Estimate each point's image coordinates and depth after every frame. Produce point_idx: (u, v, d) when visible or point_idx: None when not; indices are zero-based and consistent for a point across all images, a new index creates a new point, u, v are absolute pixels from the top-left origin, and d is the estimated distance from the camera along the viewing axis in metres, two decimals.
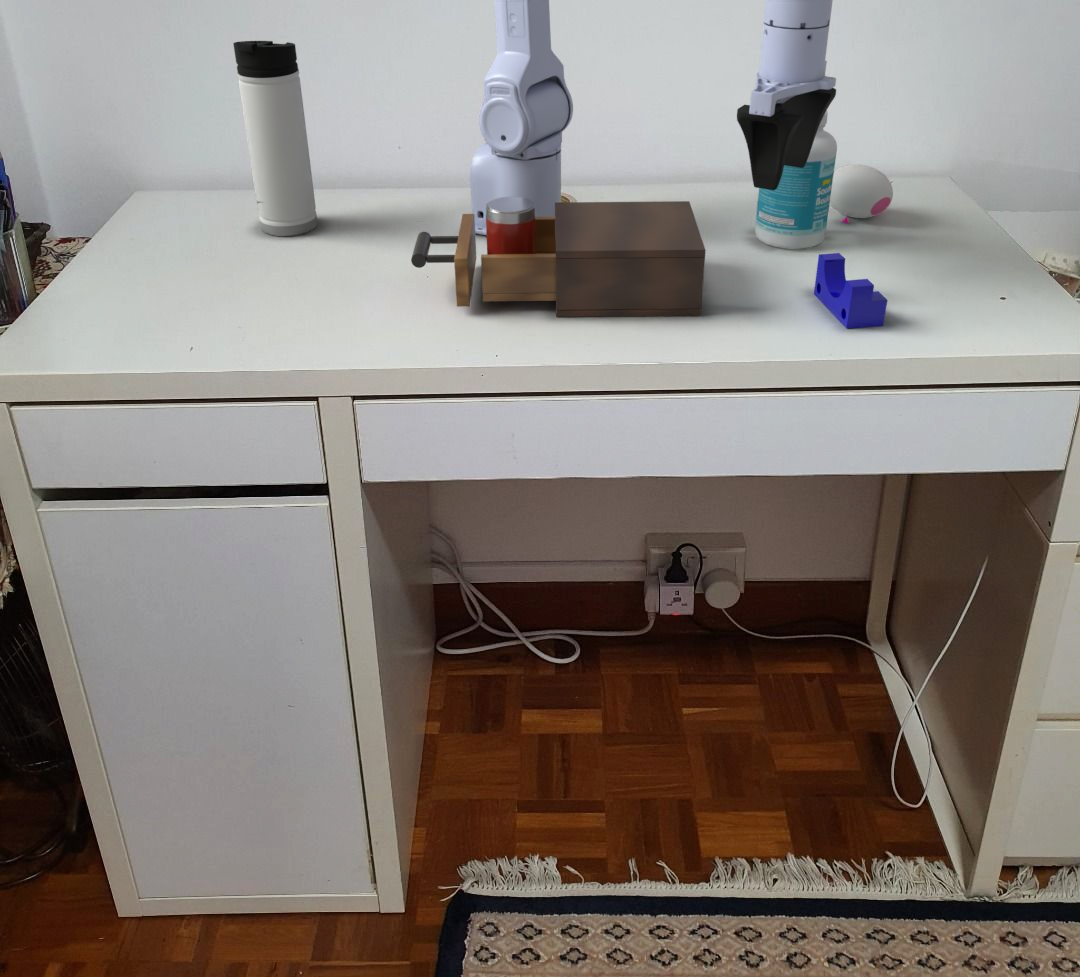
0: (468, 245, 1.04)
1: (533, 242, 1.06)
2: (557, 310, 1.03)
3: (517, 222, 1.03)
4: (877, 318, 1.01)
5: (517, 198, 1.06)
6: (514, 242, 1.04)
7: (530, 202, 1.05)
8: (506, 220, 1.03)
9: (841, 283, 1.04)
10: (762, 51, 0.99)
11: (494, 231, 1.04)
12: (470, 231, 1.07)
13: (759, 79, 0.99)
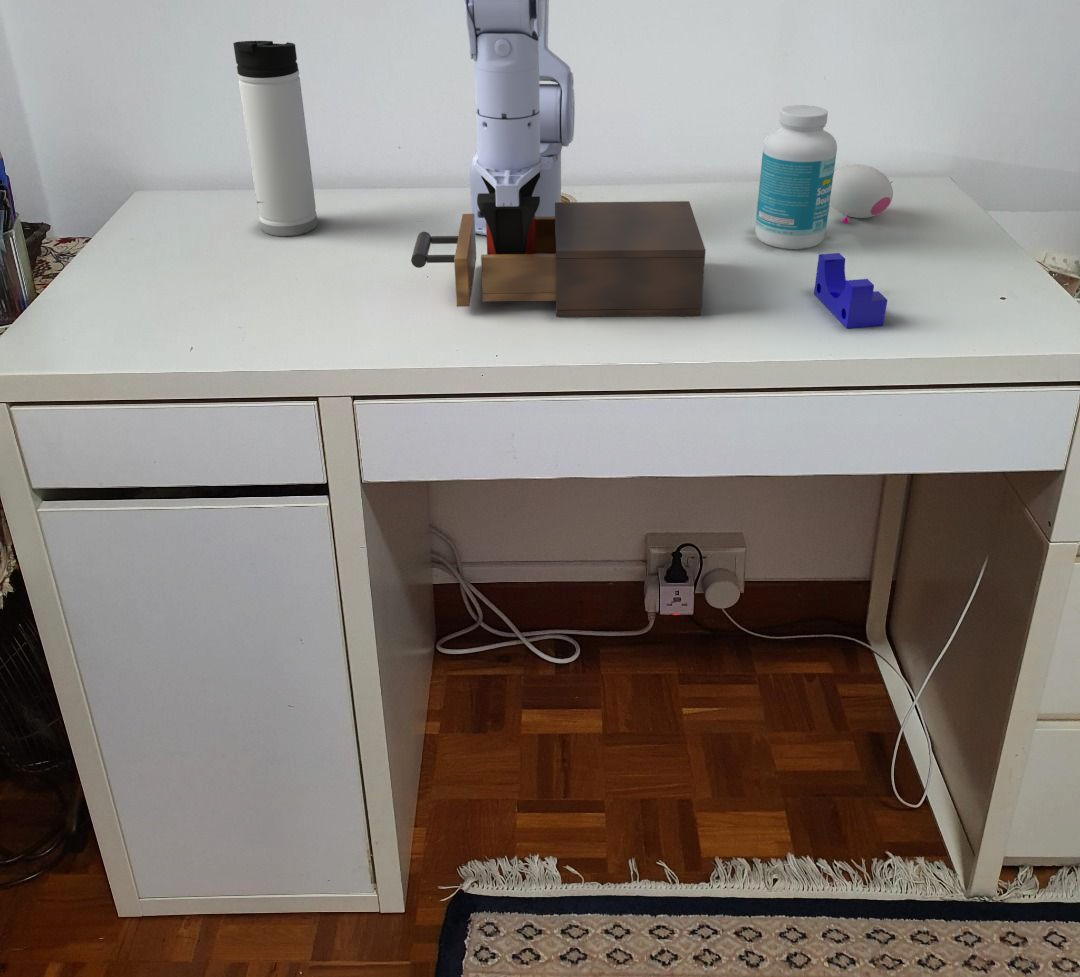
0: (468, 245, 1.04)
1: (533, 242, 1.06)
2: (557, 310, 1.03)
3: None
4: (877, 318, 1.01)
5: None
6: None
7: None
8: None
9: (841, 283, 1.04)
10: (482, 142, 1.00)
11: None
12: (470, 231, 1.07)
13: (486, 169, 1.00)
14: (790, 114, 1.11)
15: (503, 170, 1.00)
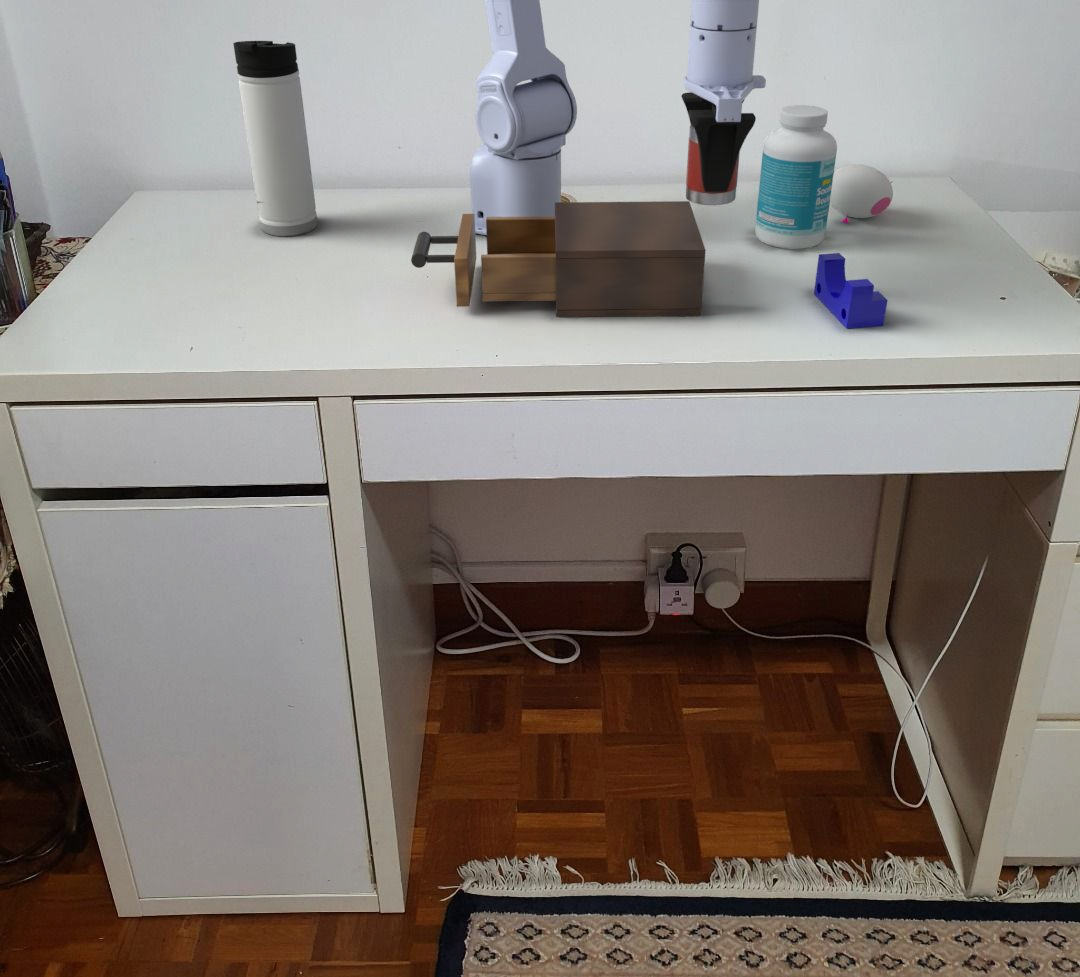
0: (468, 245, 1.04)
1: (737, 166, 1.02)
2: (557, 310, 1.03)
3: None
4: (877, 318, 1.01)
5: None
6: None
7: None
8: None
9: (841, 283, 1.04)
10: (697, 57, 0.96)
11: (699, 154, 1.00)
12: (470, 231, 1.07)
13: (699, 86, 0.96)
14: (790, 114, 1.11)
15: (718, 86, 0.96)
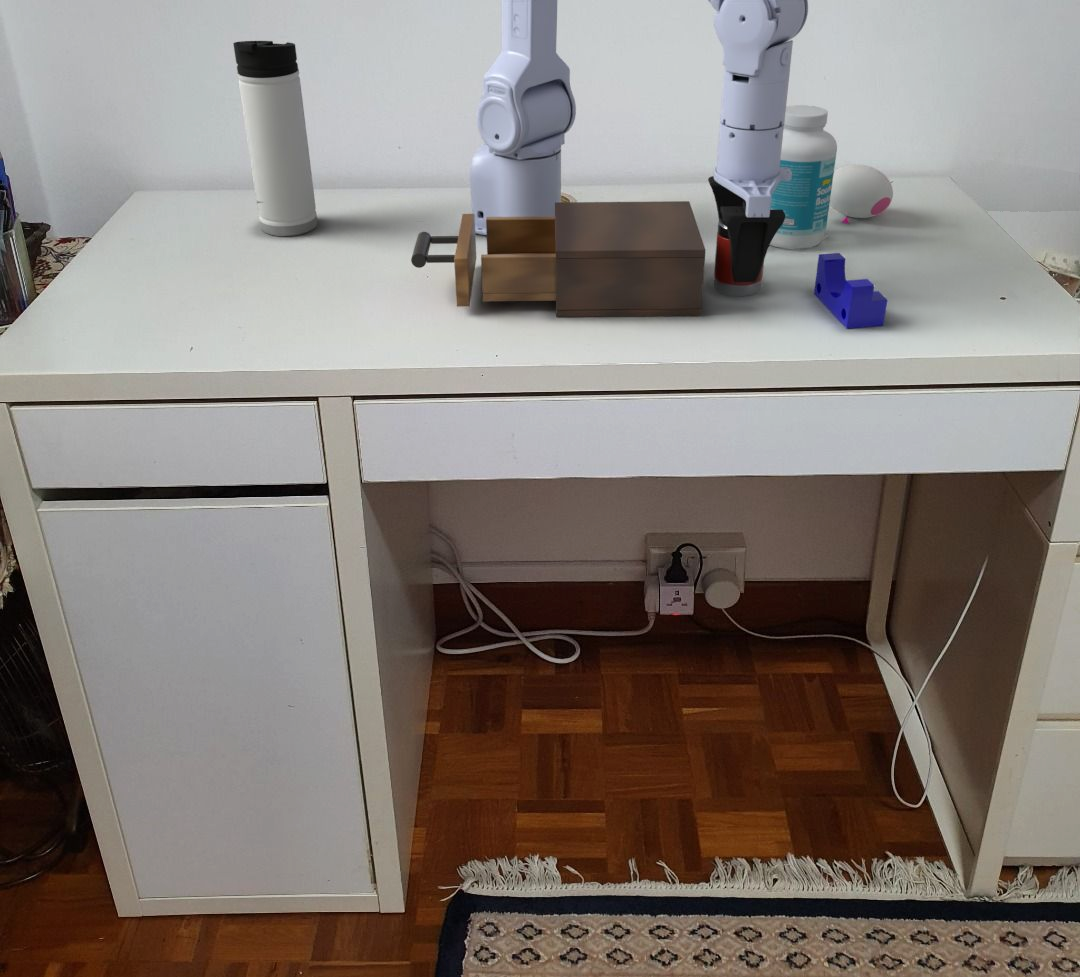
0: (468, 245, 1.04)
1: None
2: (557, 310, 1.03)
3: None
4: (877, 318, 1.01)
5: None
6: None
7: None
8: None
9: (841, 283, 1.04)
10: (727, 153, 1.00)
11: (727, 249, 1.05)
12: (470, 231, 1.07)
13: (729, 180, 1.01)
14: (790, 114, 1.11)
15: (747, 181, 1.00)
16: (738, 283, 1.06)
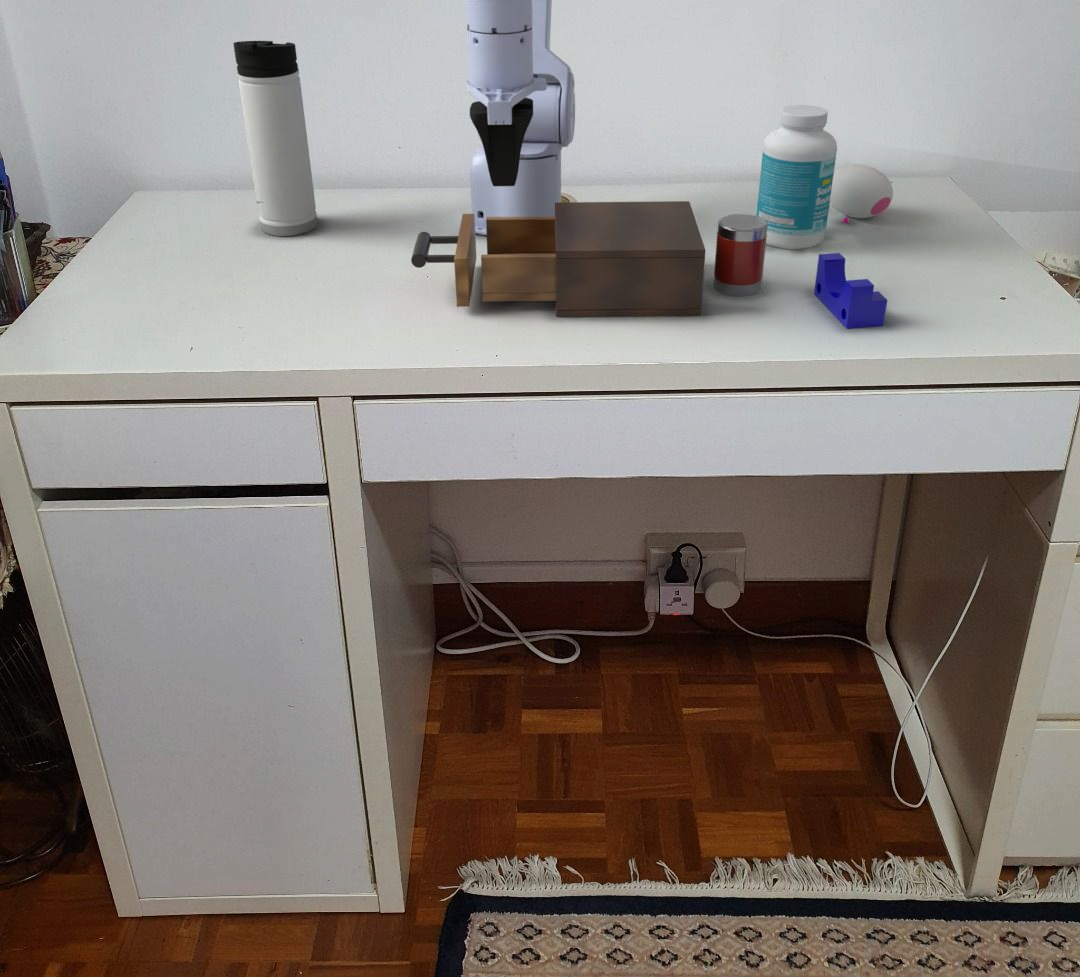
0: (468, 245, 1.04)
1: (763, 259, 1.06)
2: (557, 310, 1.03)
3: (753, 240, 1.04)
4: (877, 318, 1.01)
5: (747, 215, 1.07)
6: (748, 259, 1.05)
7: (762, 219, 1.06)
8: (742, 238, 1.04)
9: (841, 283, 1.04)
10: (473, 60, 0.96)
11: (727, 249, 1.05)
12: (470, 231, 1.07)
13: (477, 88, 0.96)
14: (790, 114, 1.11)
15: (495, 89, 0.96)
16: (738, 283, 1.06)
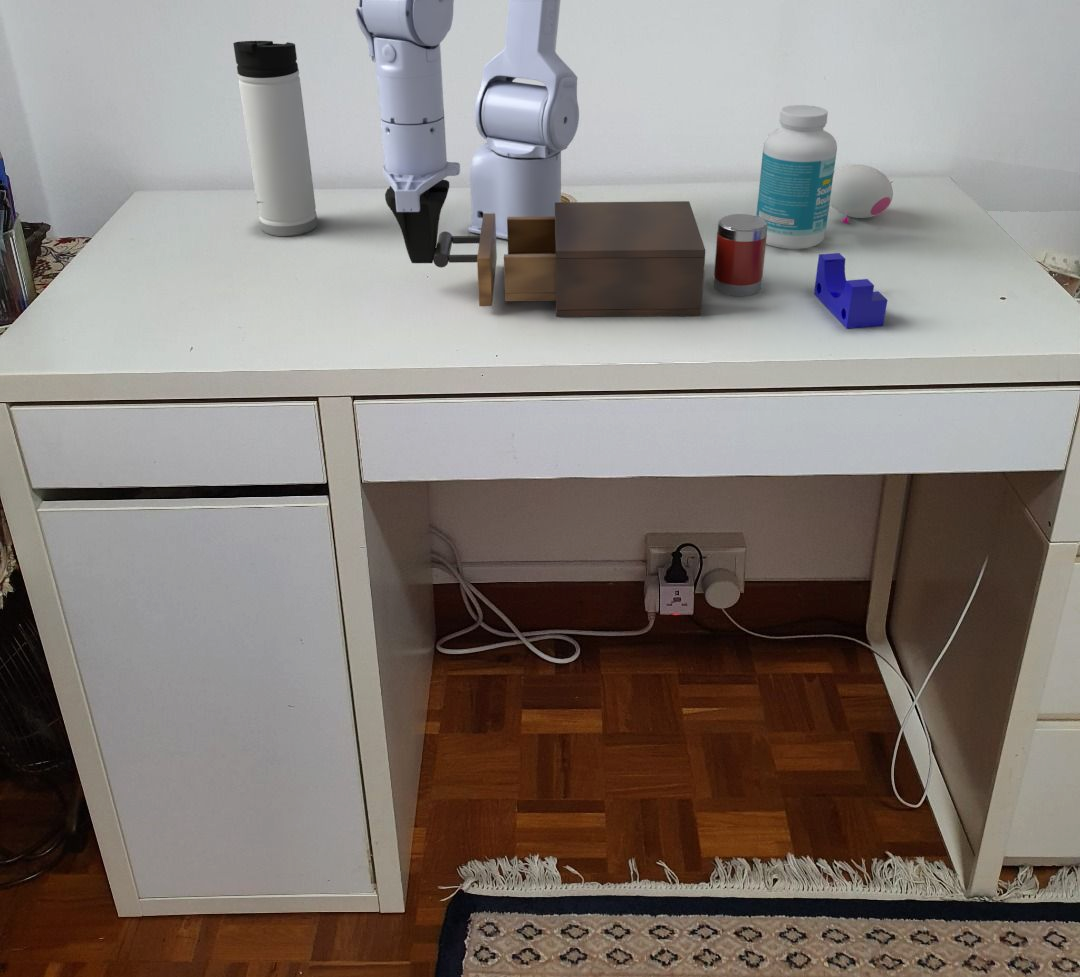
0: (490, 245, 1.04)
1: (763, 259, 1.06)
2: (557, 310, 1.03)
3: (753, 240, 1.04)
4: (877, 318, 1.01)
5: (747, 215, 1.07)
6: (748, 259, 1.05)
7: (762, 219, 1.06)
8: (742, 238, 1.04)
9: (841, 283, 1.04)
10: (386, 147, 1.00)
11: (727, 249, 1.05)
12: (492, 231, 1.07)
13: (390, 174, 1.00)
14: (790, 114, 1.11)
15: (407, 175, 1.00)
16: (738, 283, 1.06)
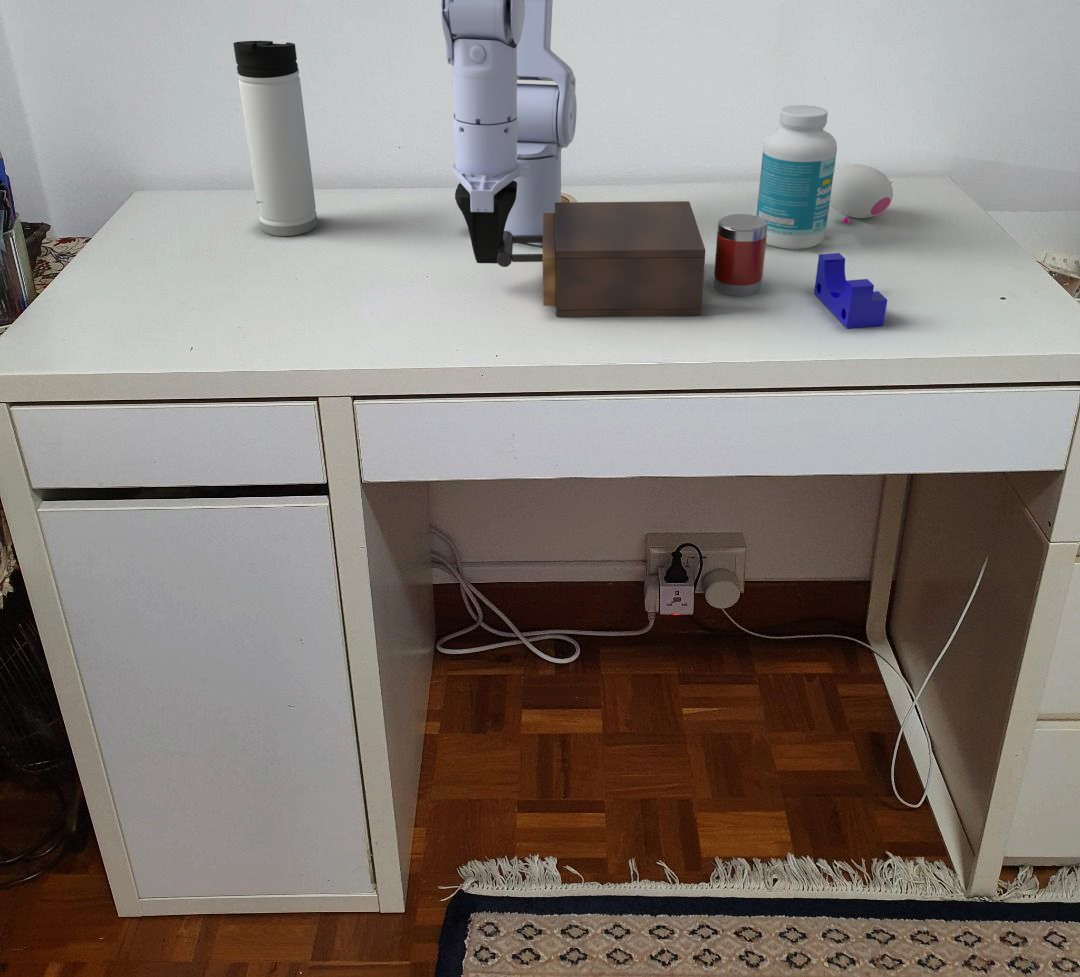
0: (554, 244, 1.04)
1: (763, 259, 1.06)
2: (557, 310, 1.03)
3: (753, 240, 1.04)
4: (877, 318, 1.01)
5: (747, 215, 1.07)
6: (748, 259, 1.05)
7: (762, 219, 1.06)
8: (742, 238, 1.04)
9: (841, 283, 1.04)
10: (459, 147, 1.00)
11: (727, 249, 1.05)
12: (554, 230, 1.07)
13: (462, 174, 1.00)
14: (790, 114, 1.11)
15: (479, 175, 1.00)
16: (738, 283, 1.06)
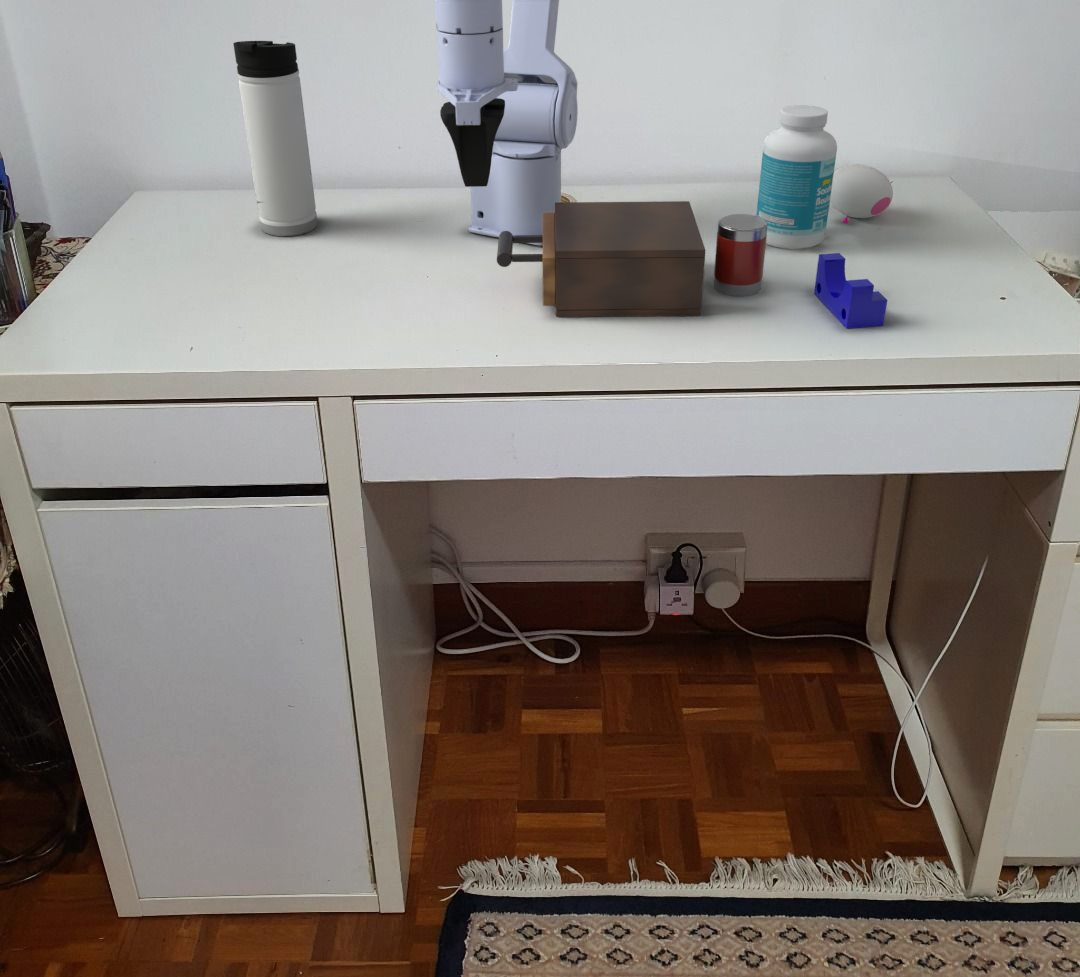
0: (554, 244, 1.04)
1: (763, 259, 1.06)
2: (557, 310, 1.03)
3: (753, 240, 1.04)
4: (877, 318, 1.01)
5: (747, 215, 1.07)
6: (748, 259, 1.05)
7: (762, 219, 1.06)
8: (742, 238, 1.04)
9: (841, 283, 1.04)
10: (443, 60, 0.96)
11: (727, 249, 1.05)
12: (554, 230, 1.07)
13: (447, 89, 0.96)
14: (790, 114, 1.11)
15: (465, 89, 0.96)
16: (738, 283, 1.06)
